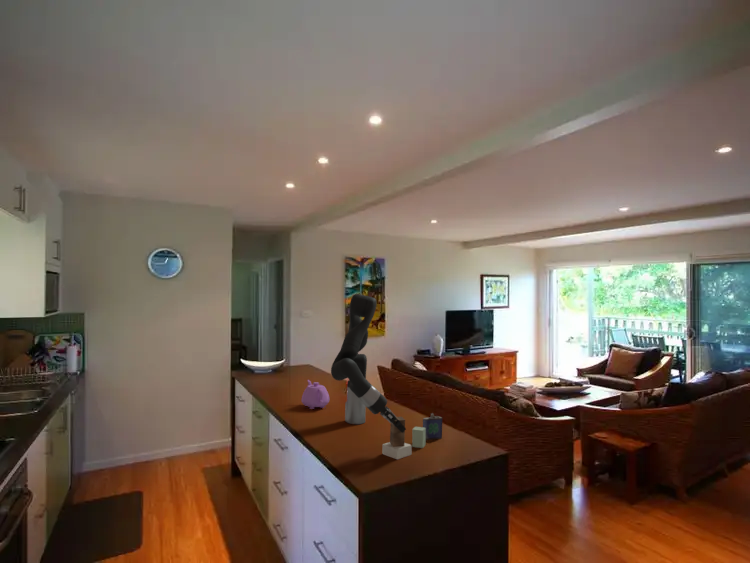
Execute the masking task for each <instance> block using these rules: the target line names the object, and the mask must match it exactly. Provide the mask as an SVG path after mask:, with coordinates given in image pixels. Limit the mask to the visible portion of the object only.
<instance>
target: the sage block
mask: <svg viewBox="0 0 750 563" xmlns="http://www.w3.org/2000/svg"><path fill="white" fill-rule="evenodd" d="M411 431H412V433H411V435H412V438H411V439H412V443H411V445H412V448H418V449H419V448H420V449H423V448H424V447H425V446H426V441H427V440H426V428H424V427H423V426H414V427H413V428H412V430H411Z"/></svg>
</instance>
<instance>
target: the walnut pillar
mask: <svg viewBox="0 0 750 563" xmlns="http://www.w3.org/2000/svg"><path fill="white" fill-rule="evenodd" d="M396 418H397V419H398V420H399V421H400V423H401V424H402V425H403V426H404V427H405V428H406V419H405V418H404V417H403V416H396ZM396 421H397V420H395V421H394V424H395V423H396ZM405 434H406V430H405V431H404V432H403V433H402V432H401V431H400V430H399V429H398V428H397V427H395V426H394V425H393V424H392V423H390V434H389V437H390V438H389V442H390V443H391V445H392V446H393V447H399V446H404V443H405V437H406V435H405Z"/></svg>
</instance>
